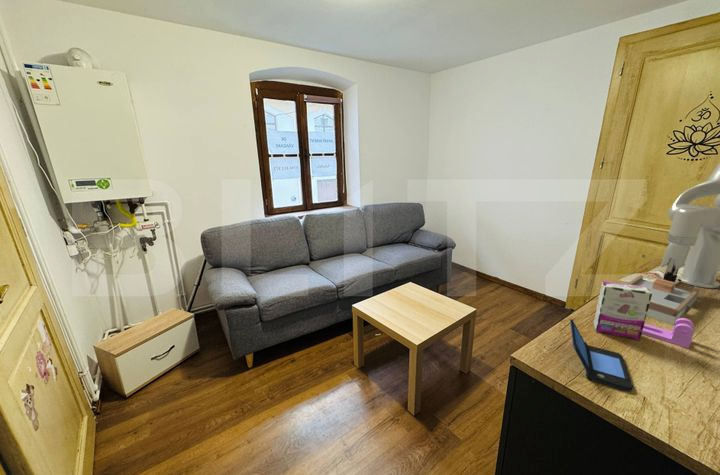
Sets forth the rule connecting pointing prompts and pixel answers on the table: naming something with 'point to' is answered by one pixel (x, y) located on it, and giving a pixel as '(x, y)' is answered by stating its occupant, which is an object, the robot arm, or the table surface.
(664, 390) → the table surface
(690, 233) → the robot arm
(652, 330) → the bracket
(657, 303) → the box
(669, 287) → the block
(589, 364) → the handheld game console
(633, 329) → the candy bar box
